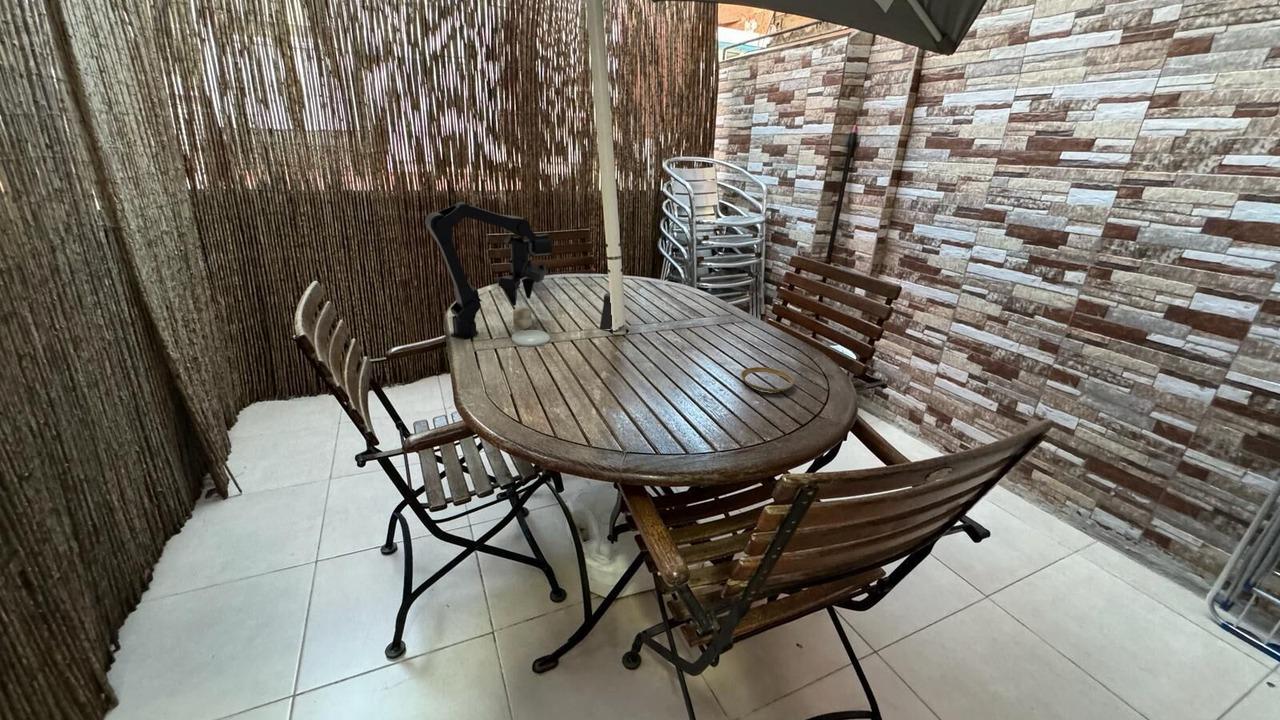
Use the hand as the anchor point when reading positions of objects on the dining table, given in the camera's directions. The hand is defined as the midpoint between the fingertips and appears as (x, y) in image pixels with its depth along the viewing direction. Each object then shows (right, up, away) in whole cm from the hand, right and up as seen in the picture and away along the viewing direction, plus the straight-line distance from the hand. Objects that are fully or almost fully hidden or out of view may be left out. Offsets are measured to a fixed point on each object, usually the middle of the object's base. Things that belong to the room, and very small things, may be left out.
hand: (521, 301), depth 175 cm
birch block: (0, -8, +4) cm, 9 cm away
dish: (+5, -13, -8) cm, 16 cm away
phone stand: (+31, -8, +8) cm, 33 cm away
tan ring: (+77, -27, -28) cm, 86 cm away
